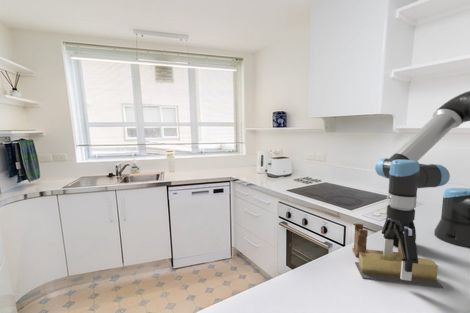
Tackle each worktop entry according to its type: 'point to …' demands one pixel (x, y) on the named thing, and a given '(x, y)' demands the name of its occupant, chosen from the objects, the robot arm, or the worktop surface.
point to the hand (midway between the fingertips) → (395, 267)
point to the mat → (399, 279)
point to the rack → (361, 241)
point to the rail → (396, 266)
